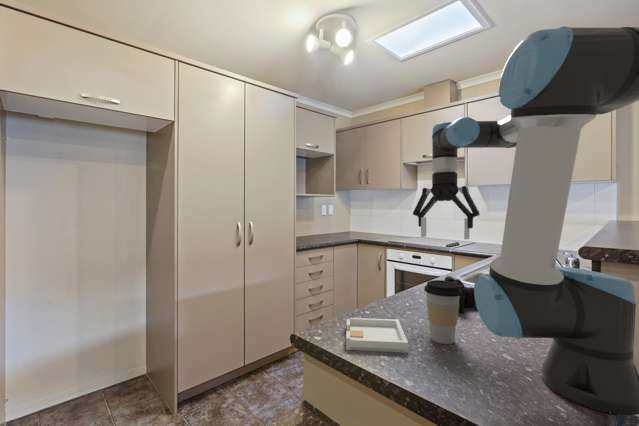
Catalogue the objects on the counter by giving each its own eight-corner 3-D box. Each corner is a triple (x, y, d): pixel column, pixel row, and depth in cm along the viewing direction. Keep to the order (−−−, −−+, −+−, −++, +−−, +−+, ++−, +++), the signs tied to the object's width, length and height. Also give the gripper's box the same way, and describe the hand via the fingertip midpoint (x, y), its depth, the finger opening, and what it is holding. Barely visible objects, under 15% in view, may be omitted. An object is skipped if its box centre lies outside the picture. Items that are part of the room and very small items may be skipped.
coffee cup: (443, 330, 88) (443, 278, 87) (469, 344, 79) (470, 286, 79) (416, 335, 84) (416, 281, 84) (441, 350, 76) (441, 290, 75)
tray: (407, 352, 74) (408, 342, 74) (346, 349, 76) (346, 339, 76) (398, 328, 89) (398, 319, 89) (346, 325, 91) (346, 317, 91)
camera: (485, 314, 100) (486, 284, 100) (451, 313, 102) (451, 283, 102) (471, 301, 114) (471, 275, 114) (441, 300, 116) (441, 273, 116)
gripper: (490, 170, 94) (490, 239, 94) (412, 176, 110) (412, 235, 110) (484, 167, 88) (484, 241, 88) (403, 174, 104) (403, 236, 104)
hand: (444, 237), depth 99 cm, fingers open, 13 cm apart
